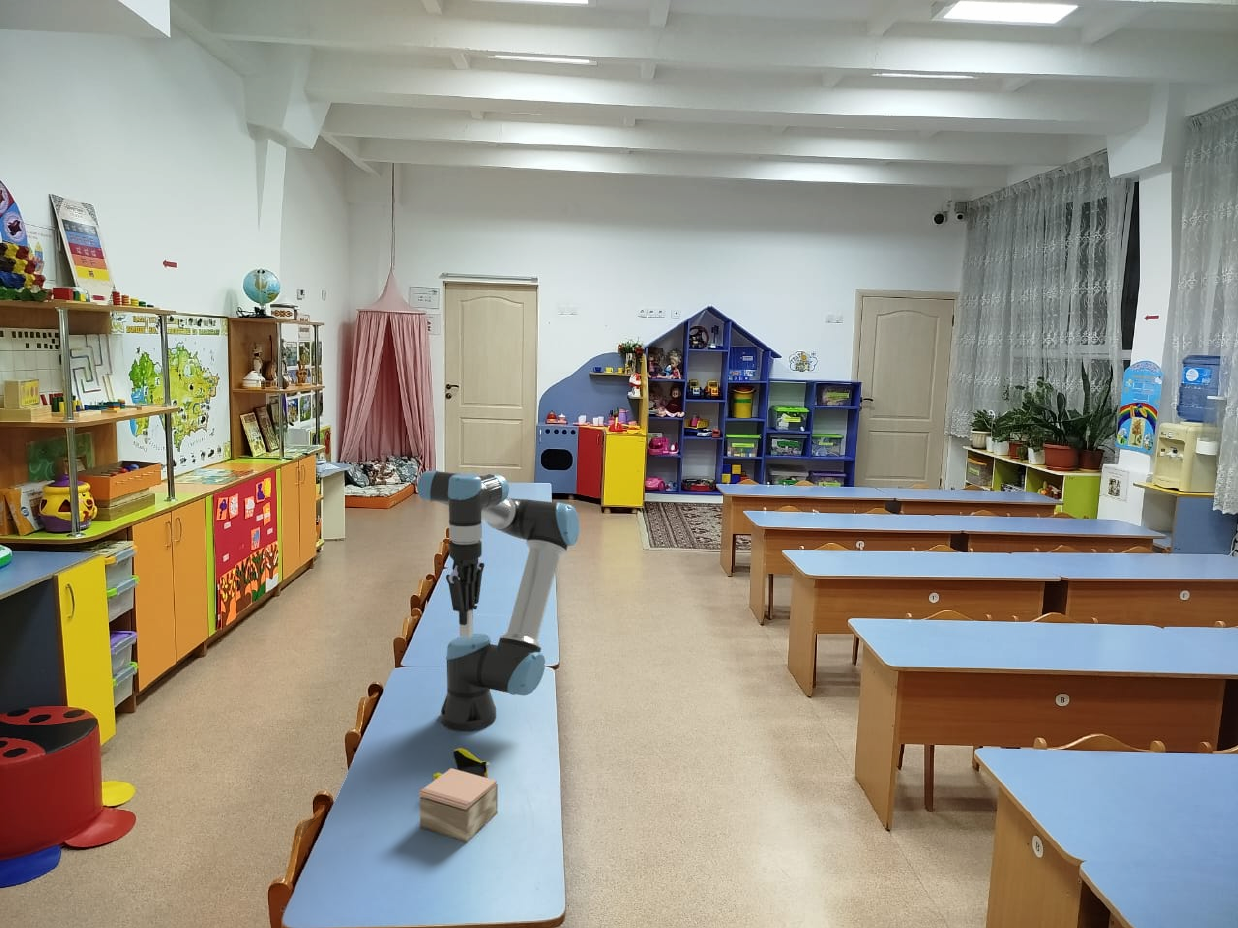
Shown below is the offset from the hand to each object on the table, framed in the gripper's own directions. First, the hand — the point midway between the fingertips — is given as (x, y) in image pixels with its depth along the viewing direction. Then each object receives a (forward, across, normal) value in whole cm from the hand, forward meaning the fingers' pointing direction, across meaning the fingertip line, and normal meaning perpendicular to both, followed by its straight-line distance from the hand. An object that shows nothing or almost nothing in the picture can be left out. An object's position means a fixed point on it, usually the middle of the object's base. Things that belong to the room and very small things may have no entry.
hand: (466, 635), depth 198 cm
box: (+34, +19, +11) cm, 41 cm away
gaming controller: (+35, +7, +3) cm, 35 cm away
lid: (+26, +20, +11) cm, 35 cm away
